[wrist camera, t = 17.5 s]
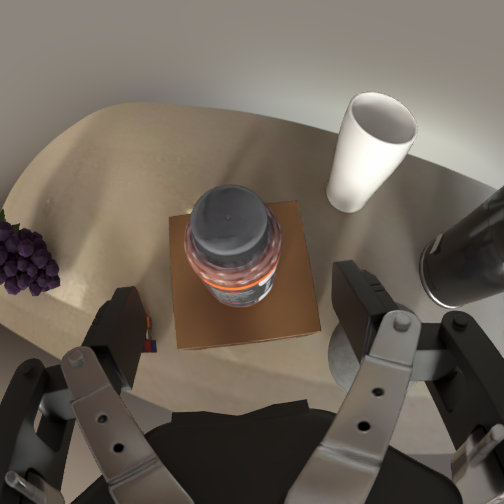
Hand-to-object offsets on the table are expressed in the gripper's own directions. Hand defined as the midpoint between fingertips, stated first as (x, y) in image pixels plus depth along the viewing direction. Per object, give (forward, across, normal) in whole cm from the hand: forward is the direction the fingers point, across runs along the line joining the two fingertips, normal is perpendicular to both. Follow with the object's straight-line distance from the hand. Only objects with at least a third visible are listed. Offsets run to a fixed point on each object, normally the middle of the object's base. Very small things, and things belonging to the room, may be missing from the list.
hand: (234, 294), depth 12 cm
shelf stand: (+18, 0, +12) cm, 22 cm away
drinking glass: (+26, -14, +5) cm, 30 cm away
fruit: (+23, +29, +8) cm, 38 cm away
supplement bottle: (+13, 0, +7) cm, 14 cm away
